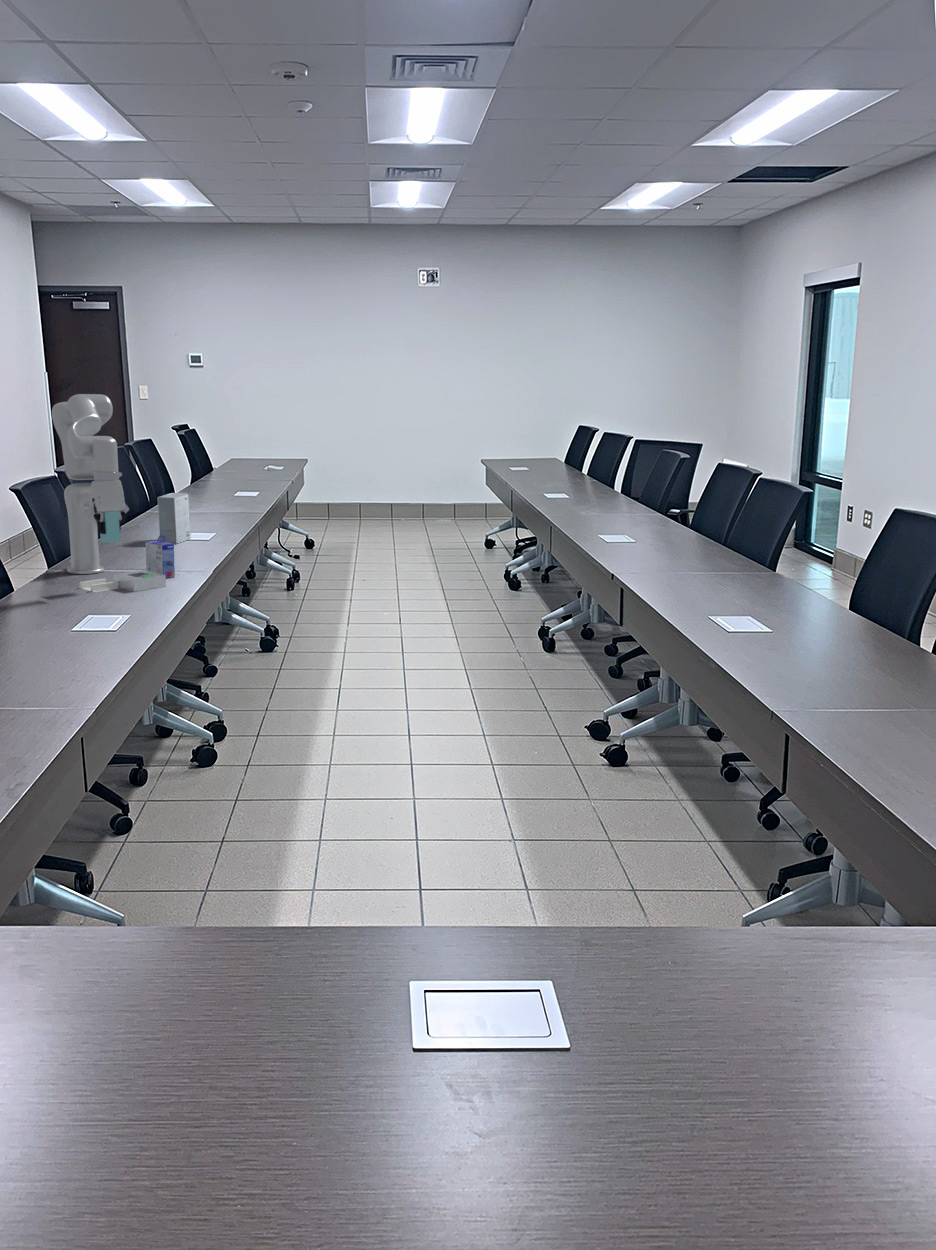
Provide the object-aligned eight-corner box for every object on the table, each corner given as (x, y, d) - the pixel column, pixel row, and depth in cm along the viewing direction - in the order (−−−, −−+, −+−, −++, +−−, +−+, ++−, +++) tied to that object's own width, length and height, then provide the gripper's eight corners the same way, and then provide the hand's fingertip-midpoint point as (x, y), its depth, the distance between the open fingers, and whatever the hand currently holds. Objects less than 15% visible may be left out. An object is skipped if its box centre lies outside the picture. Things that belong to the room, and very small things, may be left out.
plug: (100, 541, 343) (98, 509, 341) (113, 540, 347) (111, 508, 345) (107, 542, 341) (105, 509, 338) (120, 541, 344) (118, 508, 342)
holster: (78, 590, 346) (77, 581, 346) (103, 586, 353) (102, 578, 352) (94, 595, 340) (94, 586, 339) (119, 591, 347) (118, 582, 346)
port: (114, 589, 350) (113, 572, 348) (145, 584, 358) (144, 568, 357) (134, 594, 342) (133, 577, 341) (166, 589, 351) (165, 573, 350)
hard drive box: (174, 538, 457) (172, 492, 452) (191, 539, 456) (189, 493, 451) (159, 543, 442) (157, 496, 437) (176, 544, 441) (174, 497, 436)
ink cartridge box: (176, 577, 372) (174, 536, 369) (163, 579, 368) (161, 538, 365) (158, 573, 378) (157, 533, 375) (145, 575, 374) (143, 535, 370)
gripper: (124, 474, 348) (127, 529, 352) (76, 477, 335) (79, 534, 340) (136, 476, 343) (139, 531, 347) (87, 479, 330) (91, 536, 335)
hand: (109, 532), depth 343 cm, fingers closed on plug, 4 cm apart
